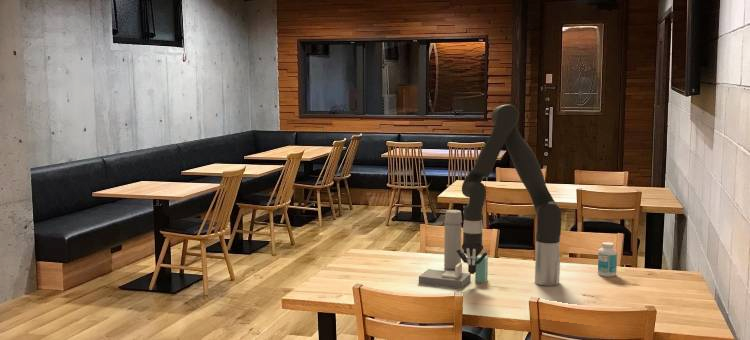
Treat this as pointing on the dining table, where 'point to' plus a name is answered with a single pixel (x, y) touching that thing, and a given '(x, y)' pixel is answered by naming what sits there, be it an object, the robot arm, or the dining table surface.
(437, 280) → the socket block
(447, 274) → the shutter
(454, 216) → the water bottle
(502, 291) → the dining table surface
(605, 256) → the pill bottle
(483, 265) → the teal flat-sided block
